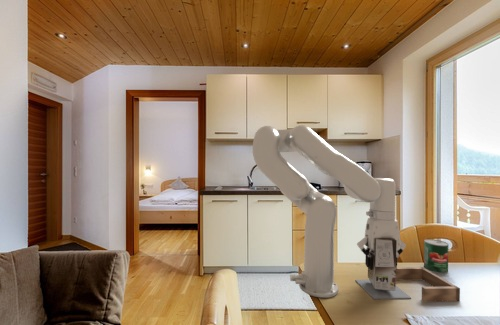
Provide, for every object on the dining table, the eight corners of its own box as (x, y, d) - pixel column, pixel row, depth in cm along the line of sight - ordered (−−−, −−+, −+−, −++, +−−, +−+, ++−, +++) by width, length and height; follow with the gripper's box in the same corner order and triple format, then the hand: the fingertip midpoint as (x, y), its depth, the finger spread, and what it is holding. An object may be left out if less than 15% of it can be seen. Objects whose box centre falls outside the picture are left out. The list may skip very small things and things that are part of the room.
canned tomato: (437, 274, 95) (437, 246, 95) (418, 266, 103) (419, 239, 103) (453, 272, 97) (453, 244, 97) (434, 264, 105) (434, 238, 105)
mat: (373, 299, 77) (373, 297, 77) (355, 280, 89) (355, 279, 89) (411, 298, 78) (411, 297, 78) (388, 280, 90) (388, 279, 90)
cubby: (424, 301, 76) (424, 288, 76) (393, 278, 92) (393, 267, 92) (459, 301, 77) (459, 288, 77) (422, 278, 92) (423, 267, 92)
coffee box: (396, 291, 79) (397, 240, 79) (374, 289, 80) (375, 238, 80) (386, 278, 87) (387, 232, 87) (366, 276, 89) (367, 231, 89)
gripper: (362, 217, 80) (361, 273, 80) (415, 217, 80) (414, 273, 80) (351, 212, 87) (350, 263, 87) (400, 213, 88) (399, 263, 88)
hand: (381, 267), depth 84 cm, fingers closed on coffee box, 7 cm apart
